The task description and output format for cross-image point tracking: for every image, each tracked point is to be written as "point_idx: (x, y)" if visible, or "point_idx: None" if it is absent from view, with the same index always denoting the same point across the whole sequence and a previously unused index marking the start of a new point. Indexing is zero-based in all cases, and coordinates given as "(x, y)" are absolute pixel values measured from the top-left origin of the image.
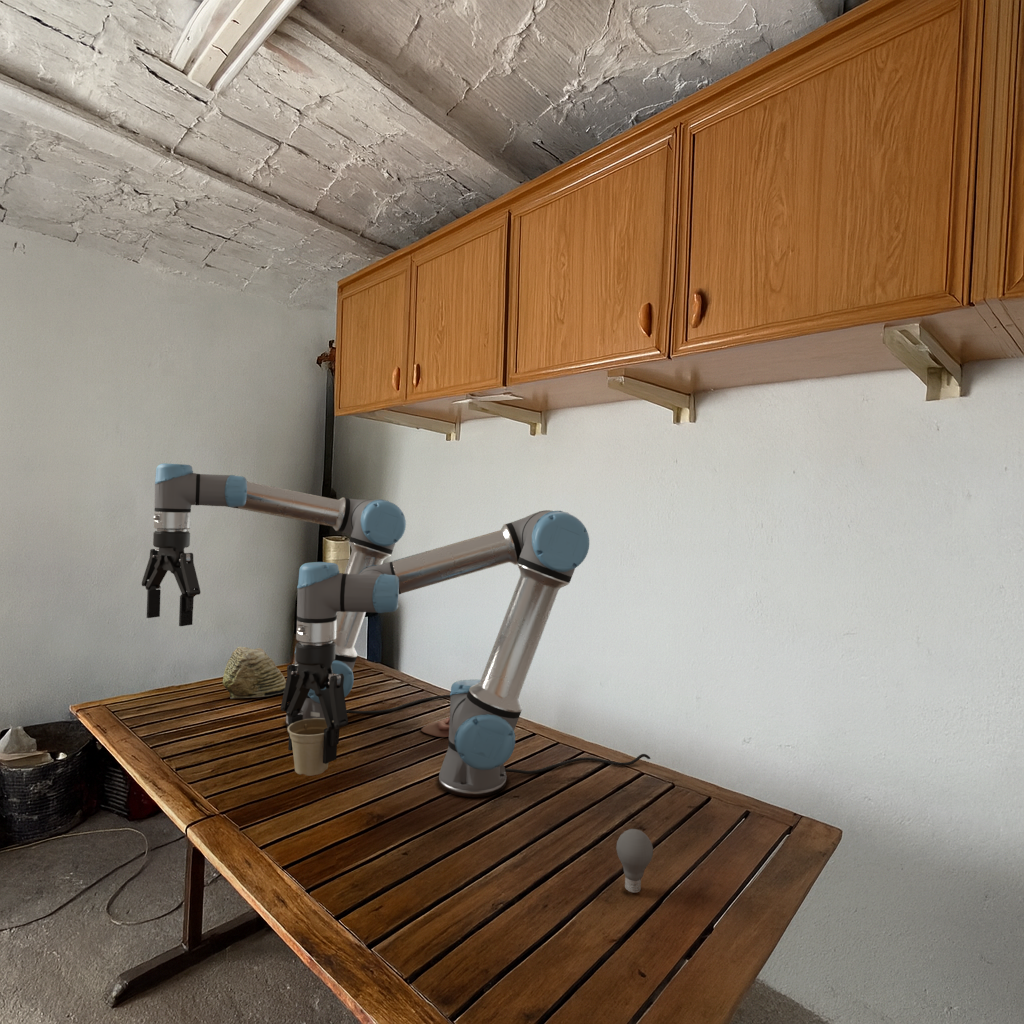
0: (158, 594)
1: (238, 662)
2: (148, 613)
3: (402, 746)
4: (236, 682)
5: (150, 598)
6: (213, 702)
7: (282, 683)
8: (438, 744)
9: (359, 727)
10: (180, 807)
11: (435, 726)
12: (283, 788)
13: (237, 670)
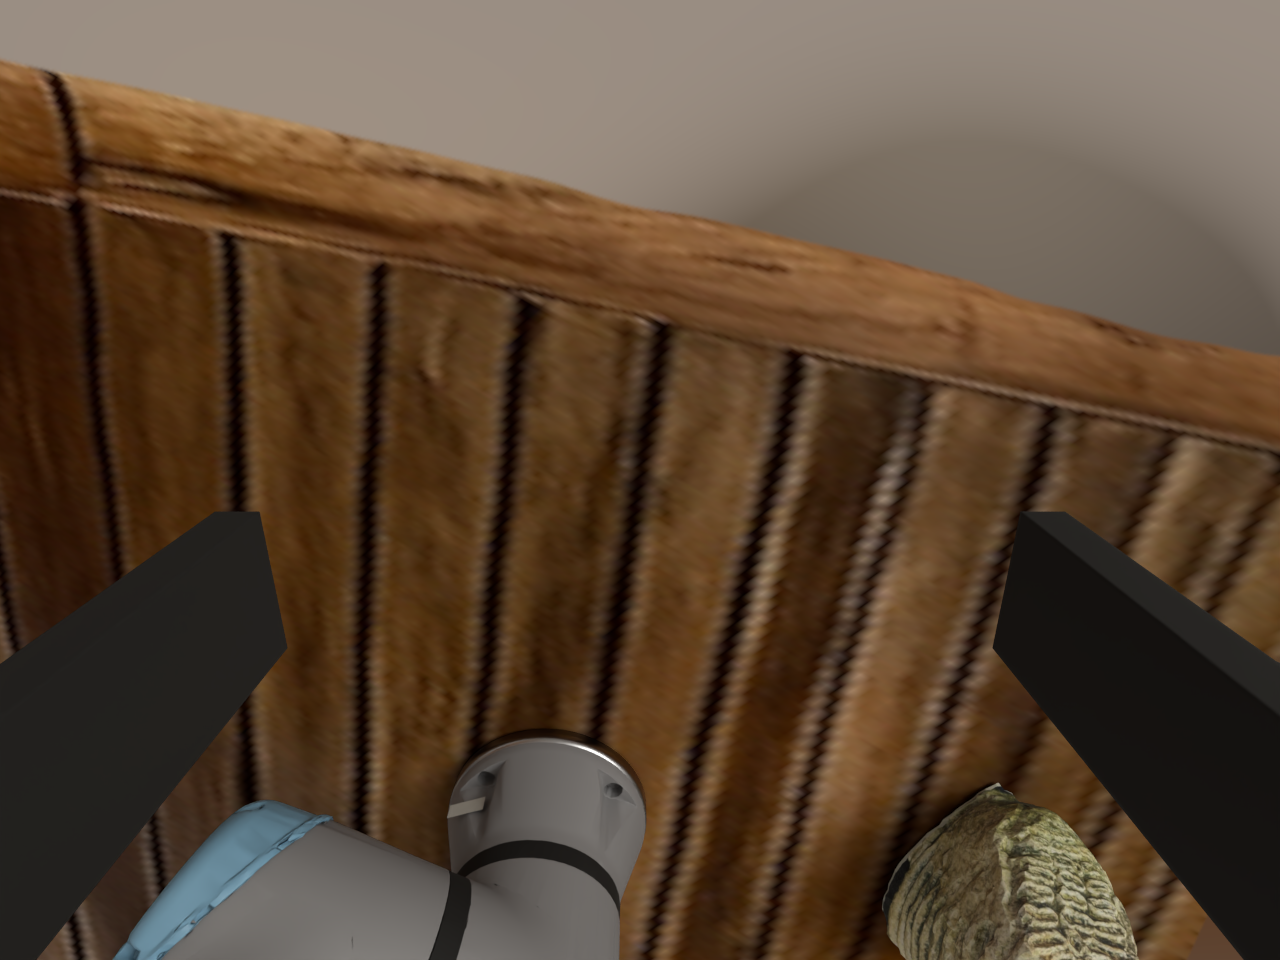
0: (1231, 895)
1: (1032, 922)
2: (1057, 541)
3: (177, 829)
4: (987, 838)
5: (1224, 709)
6: (1021, 730)
7: (899, 941)
8: (120, 890)
9: None
10: (209, 135)
11: None
12: (126, 436)
13: (1013, 886)
